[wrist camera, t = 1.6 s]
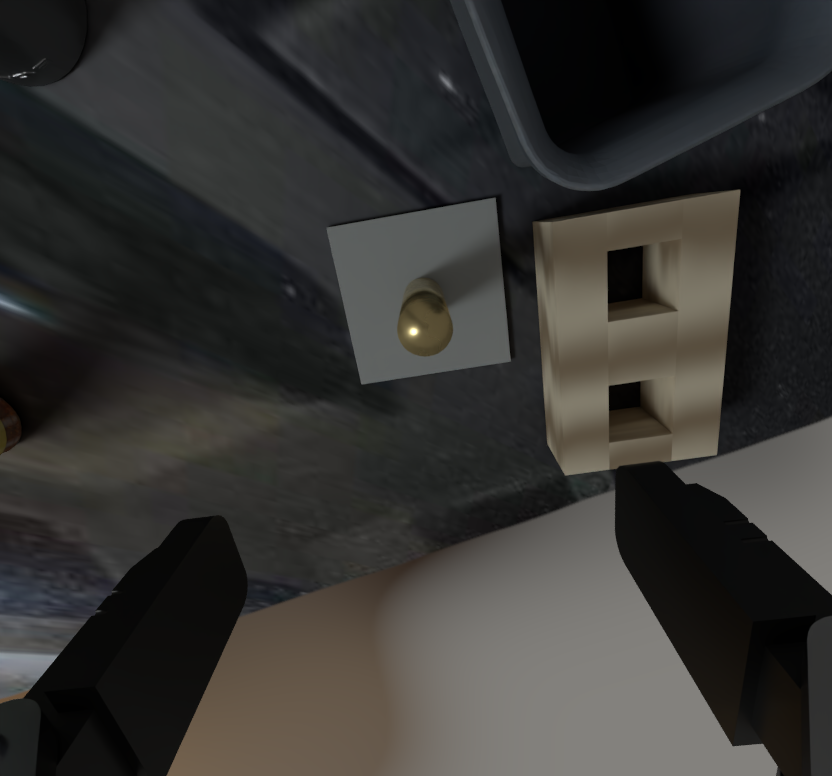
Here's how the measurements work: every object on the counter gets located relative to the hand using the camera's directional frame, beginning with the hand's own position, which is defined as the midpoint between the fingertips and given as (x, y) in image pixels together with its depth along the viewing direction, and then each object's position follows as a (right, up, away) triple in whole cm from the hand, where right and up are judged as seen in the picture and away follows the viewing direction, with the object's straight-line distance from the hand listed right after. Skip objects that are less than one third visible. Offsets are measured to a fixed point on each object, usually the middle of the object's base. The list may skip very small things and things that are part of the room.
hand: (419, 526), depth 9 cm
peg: (0, +10, +24) cm, 26 cm away
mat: (0, +10, +24) cm, 26 cm away
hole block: (+15, +7, +25) cm, 30 cm away
